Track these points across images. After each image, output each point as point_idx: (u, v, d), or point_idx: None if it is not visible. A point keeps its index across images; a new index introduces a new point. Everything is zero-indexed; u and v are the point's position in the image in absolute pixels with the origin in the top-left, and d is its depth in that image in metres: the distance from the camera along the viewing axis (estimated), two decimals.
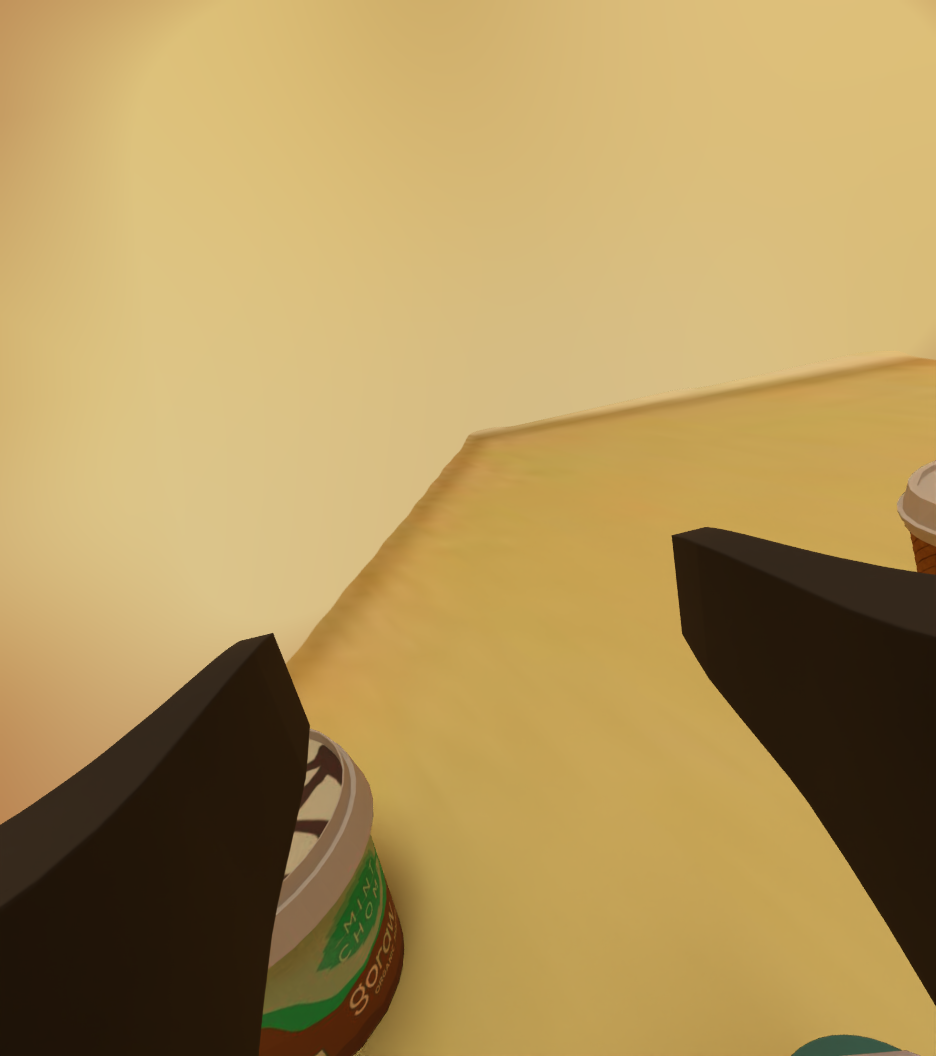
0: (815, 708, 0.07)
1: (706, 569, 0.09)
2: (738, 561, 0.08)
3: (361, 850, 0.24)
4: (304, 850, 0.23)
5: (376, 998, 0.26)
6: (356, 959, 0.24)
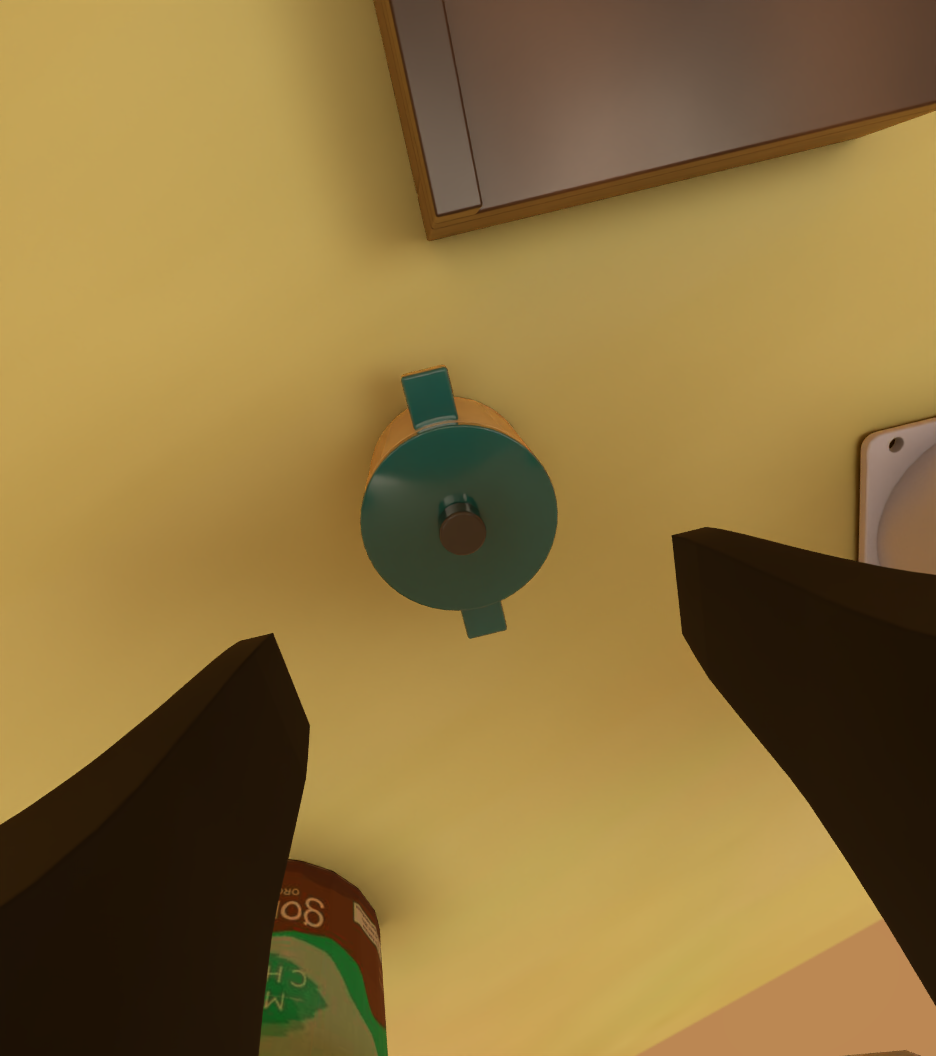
0: (815, 708, 0.07)
1: (706, 569, 0.09)
2: (738, 561, 0.08)
3: None
4: None
5: (301, 886, 0.25)
6: (293, 952, 0.22)
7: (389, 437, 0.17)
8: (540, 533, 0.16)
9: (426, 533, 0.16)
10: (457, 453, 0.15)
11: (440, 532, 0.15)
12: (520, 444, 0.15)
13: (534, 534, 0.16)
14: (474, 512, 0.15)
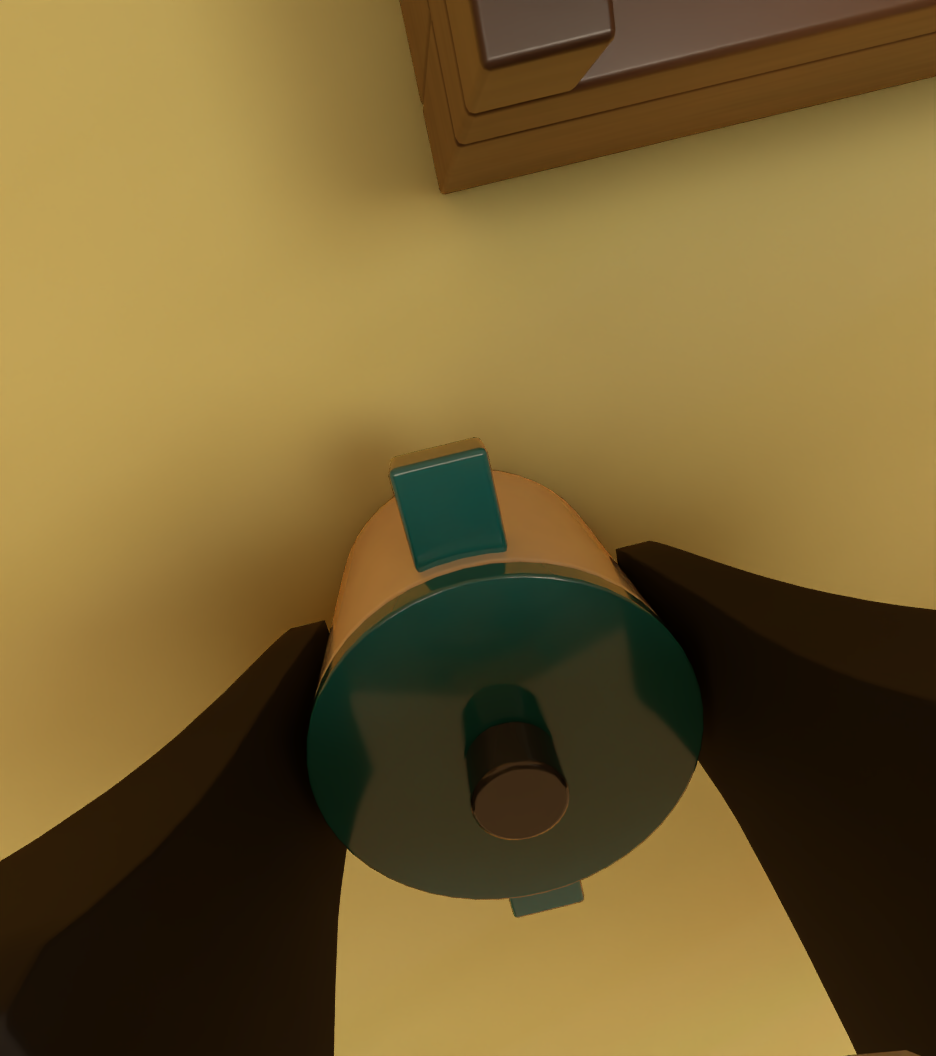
0: (736, 728, 0.07)
1: (643, 585, 0.09)
2: (668, 578, 0.08)
3: None
4: None
5: None
6: None
7: (369, 564, 0.09)
8: (667, 767, 0.08)
9: (441, 776, 0.08)
10: (508, 630, 0.07)
11: (473, 802, 0.07)
12: (640, 609, 0.07)
13: (655, 770, 0.08)
14: (545, 758, 0.07)
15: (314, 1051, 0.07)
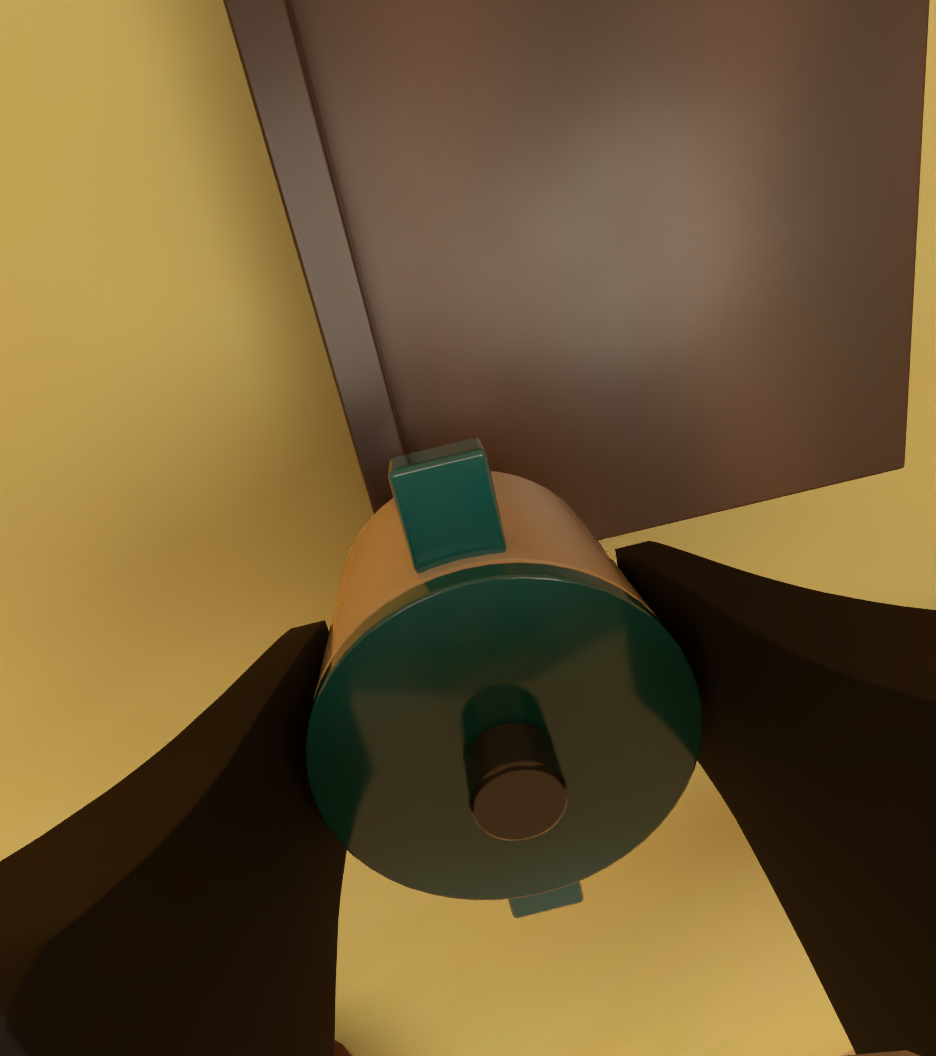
0: (735, 728, 0.07)
1: (643, 585, 0.09)
2: (668, 578, 0.08)
3: None
4: None
5: None
6: None
7: (368, 564, 0.09)
8: (666, 768, 0.08)
9: (440, 777, 0.08)
10: (507, 631, 0.07)
11: (472, 803, 0.07)
12: (639, 609, 0.07)
13: (654, 770, 0.08)
14: (544, 759, 0.07)
15: (314, 1051, 0.07)
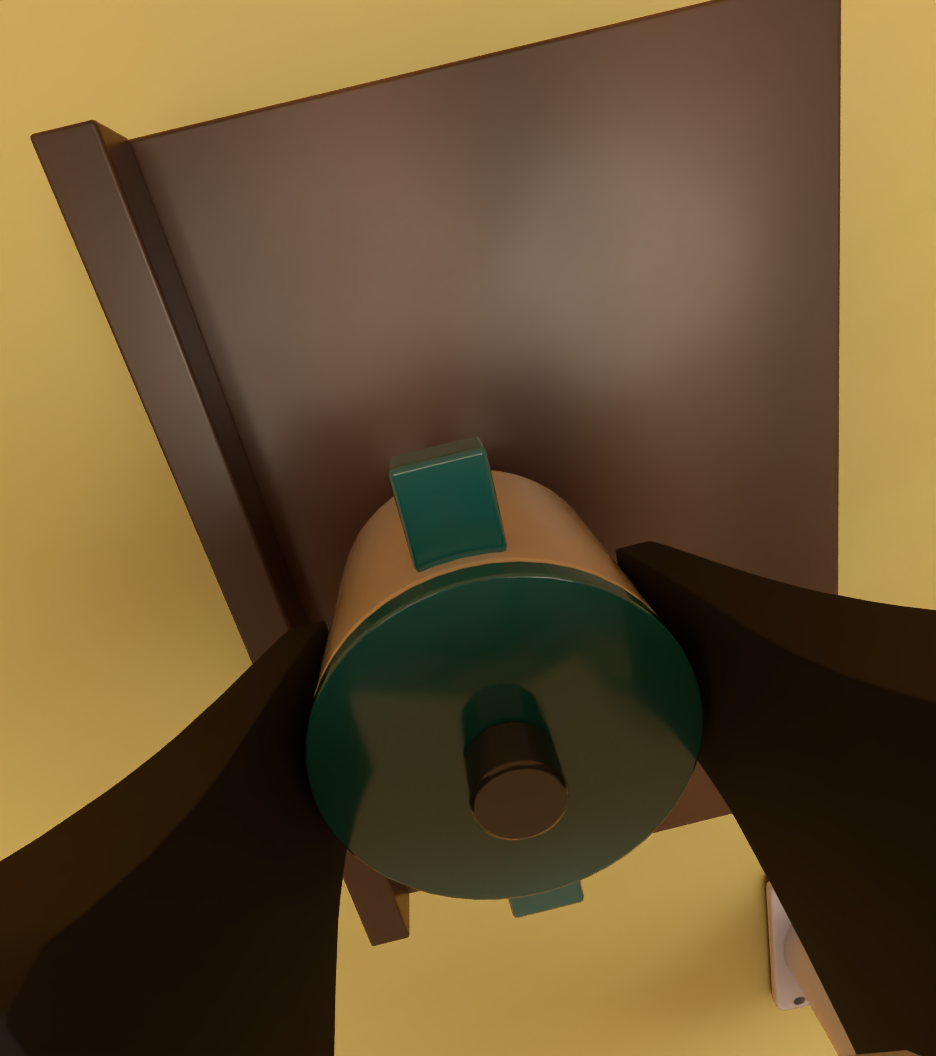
0: (735, 728, 0.07)
1: (642, 585, 0.09)
2: (667, 578, 0.08)
3: None
4: None
5: None
6: None
7: (368, 563, 0.09)
8: (666, 767, 0.08)
9: (440, 776, 0.08)
10: (508, 630, 0.07)
11: (472, 802, 0.07)
12: (640, 608, 0.07)
13: (655, 769, 0.08)
14: (545, 758, 0.07)
15: (314, 1051, 0.07)
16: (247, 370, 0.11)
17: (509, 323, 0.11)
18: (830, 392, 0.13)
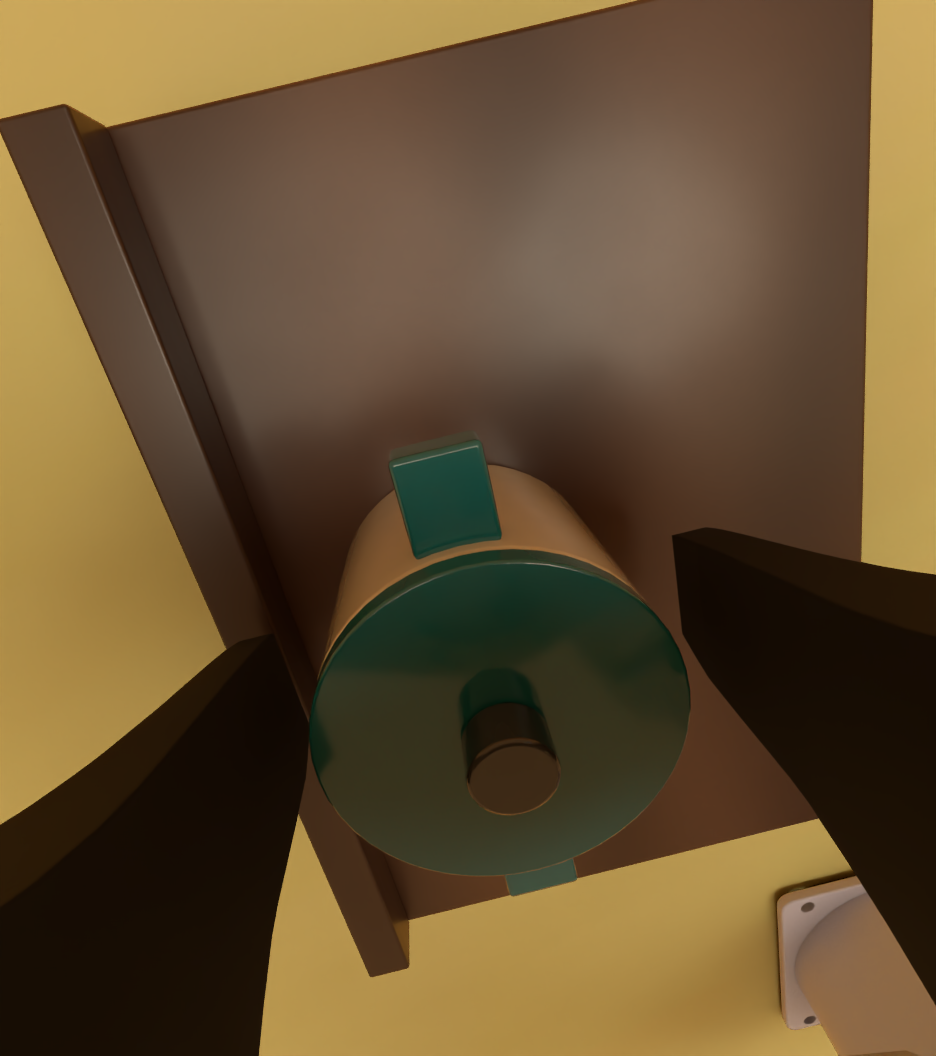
0: (815, 708, 0.07)
1: (705, 569, 0.09)
2: (738, 561, 0.08)
3: None
4: None
5: None
6: None
7: (369, 553, 0.09)
8: (655, 748, 0.09)
9: (438, 756, 0.08)
10: (502, 614, 0.08)
11: (468, 778, 0.07)
12: (629, 594, 0.08)
13: (644, 750, 0.09)
14: (537, 736, 0.07)
15: None
16: (236, 374, 0.11)
17: (516, 324, 0.11)
18: (855, 397, 0.12)
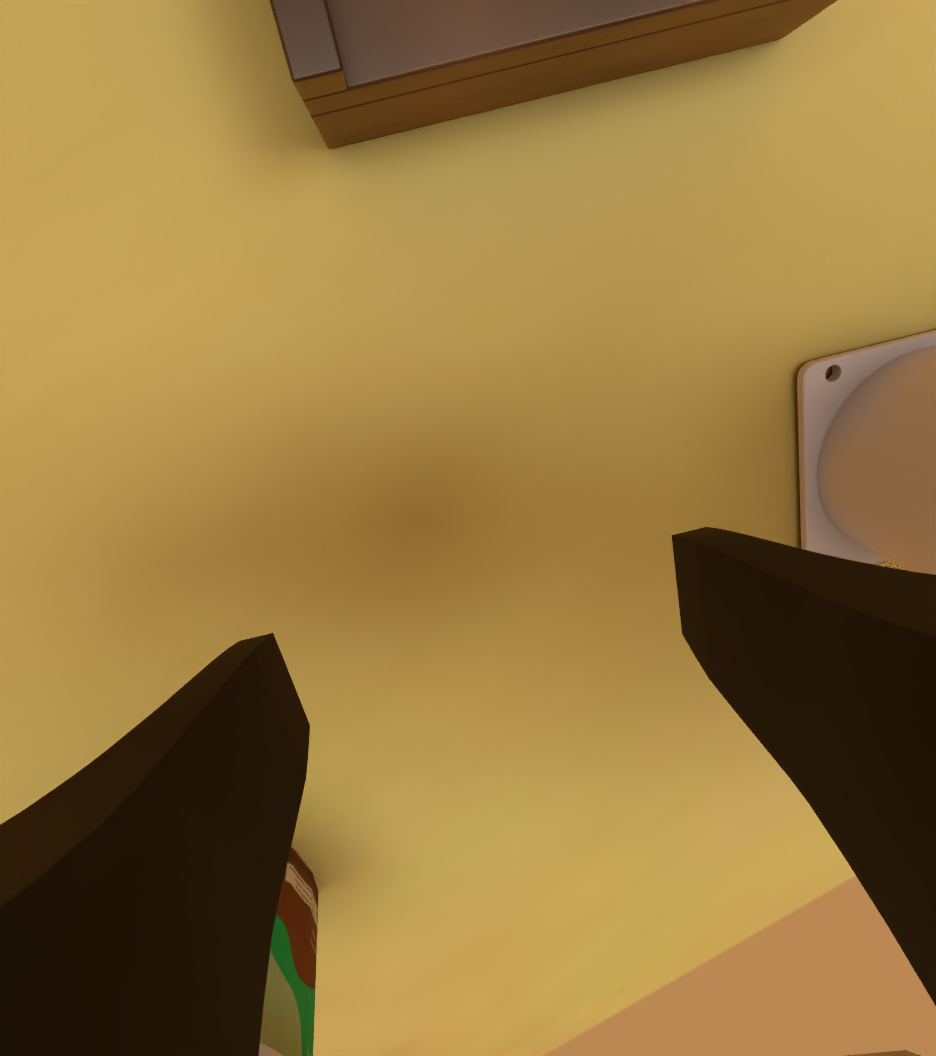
0: (815, 708, 0.07)
1: (706, 569, 0.09)
2: (738, 561, 0.08)
3: None
4: None
5: None
6: None
7: None
8: None
9: None
10: None
11: None
12: None
13: None
14: None
15: None
16: None
17: None
18: None
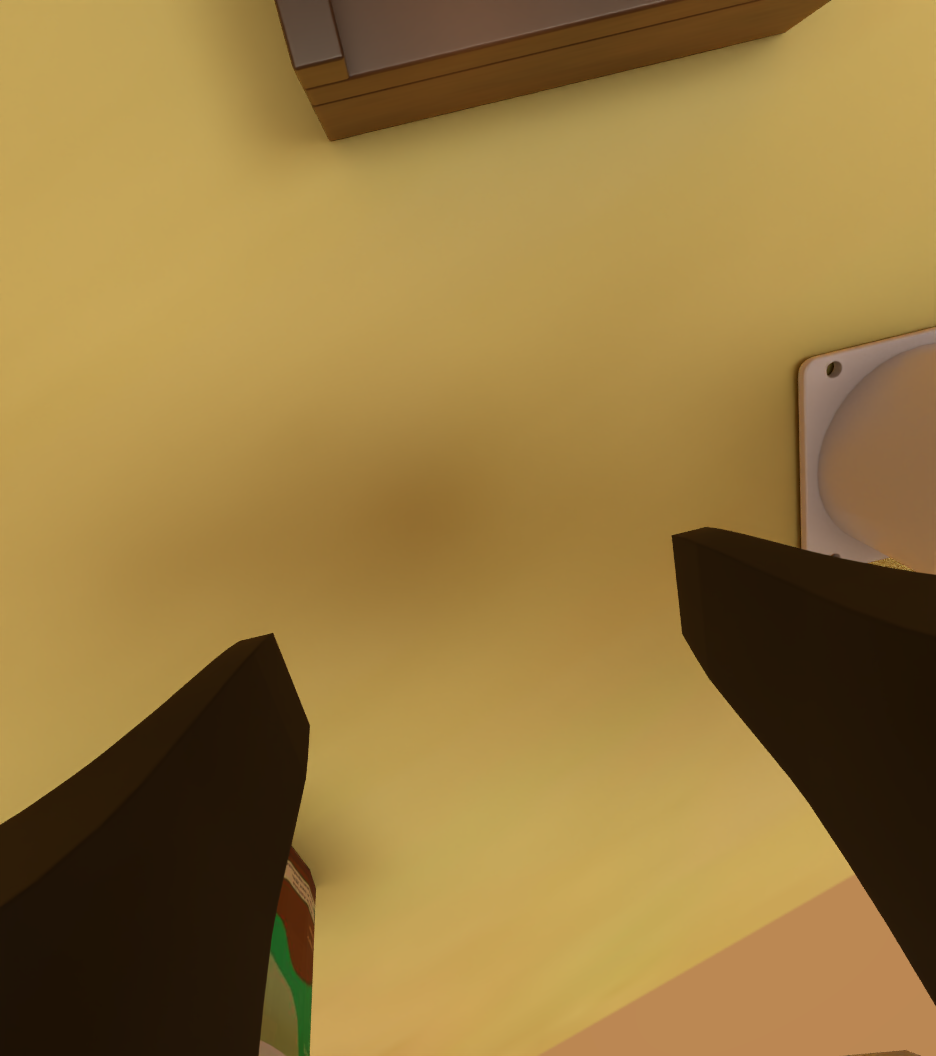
0: (815, 708, 0.07)
1: (705, 569, 0.09)
2: (738, 561, 0.08)
3: None
4: None
5: None
6: None
7: None
8: None
9: None
10: None
11: None
12: None
13: None
14: None
15: None
16: None
17: None
18: None
